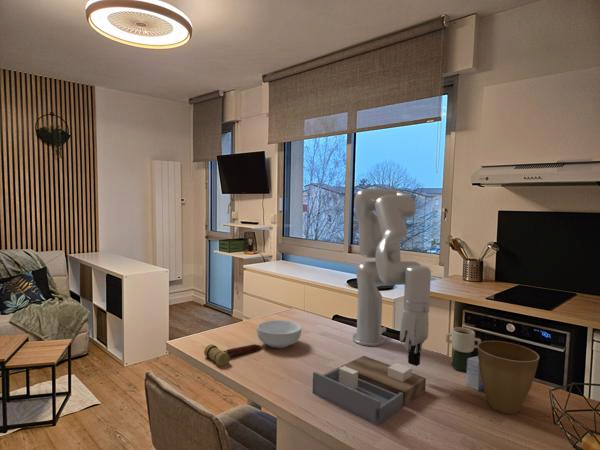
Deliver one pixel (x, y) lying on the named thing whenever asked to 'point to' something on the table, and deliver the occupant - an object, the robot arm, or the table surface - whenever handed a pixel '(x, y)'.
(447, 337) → the character mug
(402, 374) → the tile
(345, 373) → the white square tile
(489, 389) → the plant pot
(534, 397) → the table surface
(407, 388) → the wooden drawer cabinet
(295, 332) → the cereal bowl
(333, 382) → the tray
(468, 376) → the medicine box
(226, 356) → the gavel
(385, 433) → the table surface
